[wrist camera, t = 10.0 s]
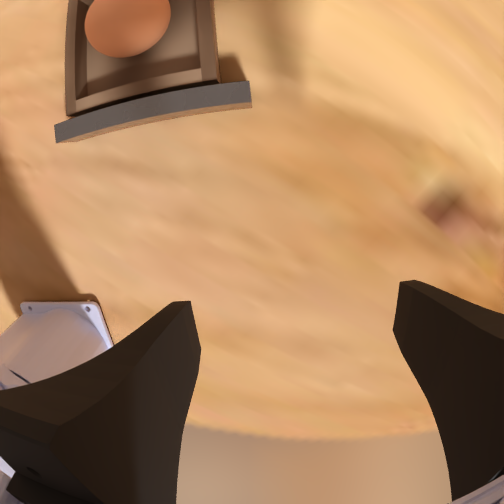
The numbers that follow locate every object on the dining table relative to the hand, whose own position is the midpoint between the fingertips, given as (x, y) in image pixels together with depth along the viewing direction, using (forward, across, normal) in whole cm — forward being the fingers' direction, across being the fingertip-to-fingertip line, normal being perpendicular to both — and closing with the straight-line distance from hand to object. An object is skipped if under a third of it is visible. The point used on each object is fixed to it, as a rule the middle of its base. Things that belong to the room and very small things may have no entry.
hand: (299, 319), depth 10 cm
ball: (+10, +8, -14) cm, 19 cm away
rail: (+10, +7, -8) cm, 15 cm away
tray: (+10, +8, -14) cm, 19 cm away
